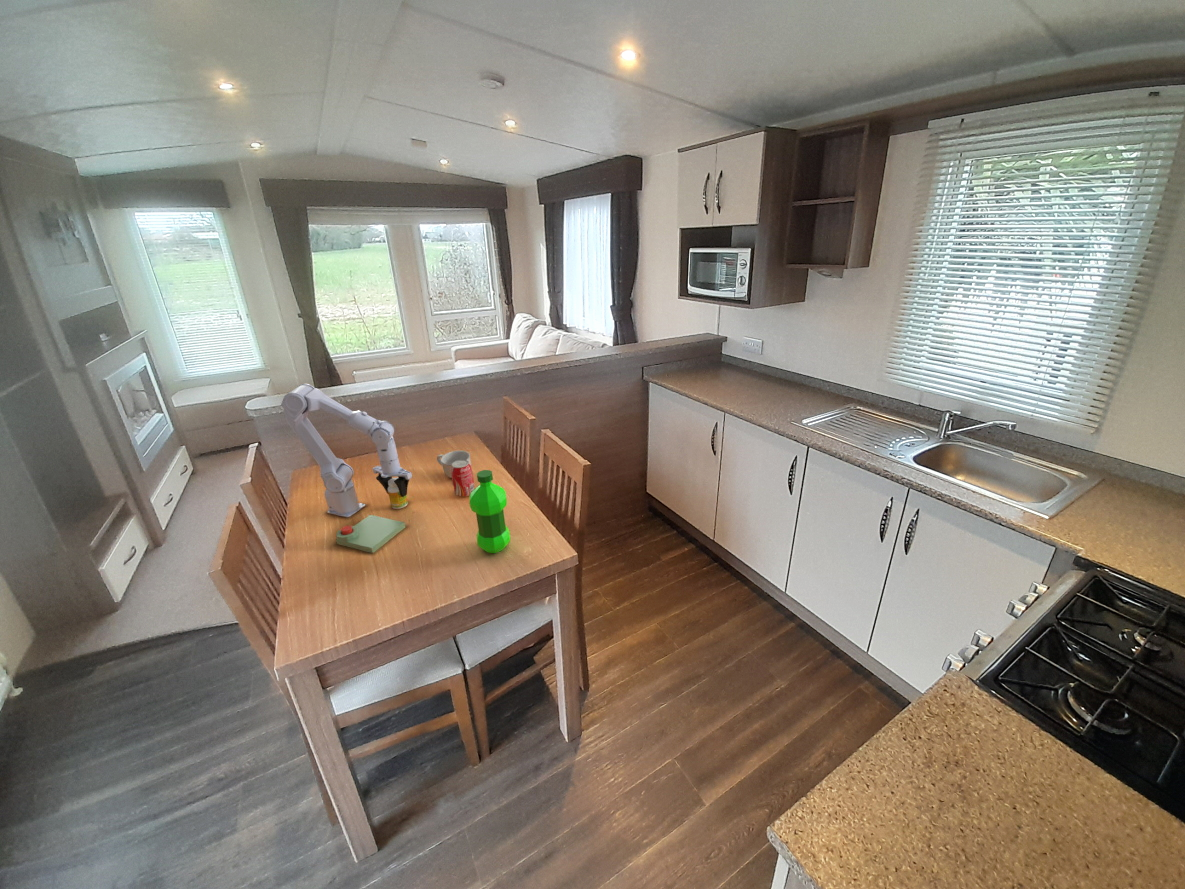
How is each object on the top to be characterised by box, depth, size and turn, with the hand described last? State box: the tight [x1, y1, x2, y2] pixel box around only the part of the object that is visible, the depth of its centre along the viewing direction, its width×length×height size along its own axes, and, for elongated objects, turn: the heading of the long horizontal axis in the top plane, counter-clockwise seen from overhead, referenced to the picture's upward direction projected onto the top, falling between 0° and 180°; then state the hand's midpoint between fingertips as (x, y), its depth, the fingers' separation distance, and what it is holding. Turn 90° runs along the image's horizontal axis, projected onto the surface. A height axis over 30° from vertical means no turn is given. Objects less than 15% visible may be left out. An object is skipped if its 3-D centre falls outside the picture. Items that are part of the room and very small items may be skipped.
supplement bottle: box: [387, 477, 409, 510], centre depth 162 cm, size 5×5×10 cm
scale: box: [335, 514, 406, 554], centre depth 147 cm, size 14×14×4 cm
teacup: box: [436, 450, 472, 479], centre depth 182 cm, size 14×11×8 cm
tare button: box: [340, 525, 353, 535], centre depth 144 cm, size 3×3×2 cm
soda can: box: [451, 460, 475, 498], centre depth 167 cm, size 7×7×12 cm
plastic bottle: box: [468, 469, 511, 554], centre depth 135 cm, size 10×10×25 cm
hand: (397, 494), depth 162 cm, fingers closed on supplement bottle, 5 cm apart
